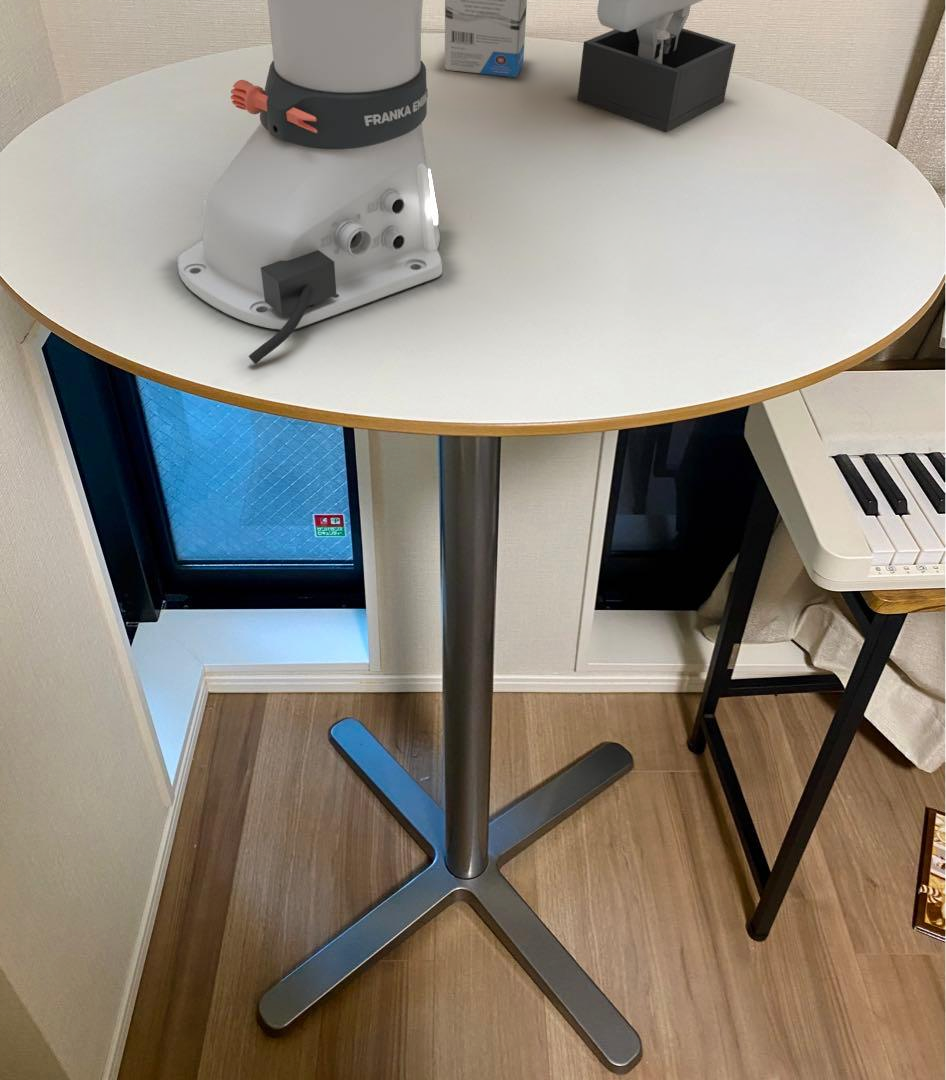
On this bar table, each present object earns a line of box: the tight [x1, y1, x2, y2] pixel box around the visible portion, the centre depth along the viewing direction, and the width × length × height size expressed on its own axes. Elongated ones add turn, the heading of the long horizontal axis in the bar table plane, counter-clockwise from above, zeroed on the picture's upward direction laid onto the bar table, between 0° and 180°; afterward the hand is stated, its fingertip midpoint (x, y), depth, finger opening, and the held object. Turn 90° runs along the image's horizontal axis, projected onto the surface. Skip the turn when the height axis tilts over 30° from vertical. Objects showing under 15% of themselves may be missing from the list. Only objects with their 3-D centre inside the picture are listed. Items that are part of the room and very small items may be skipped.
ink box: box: [444, 0, 528, 78], centre depth 110 cm, size 9×5×12 cm, turn 77°
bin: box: [576, 27, 736, 133], centre depth 107 cm, size 12×12×6 cm
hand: (656, 55), depth 105 cm, fingers closed
